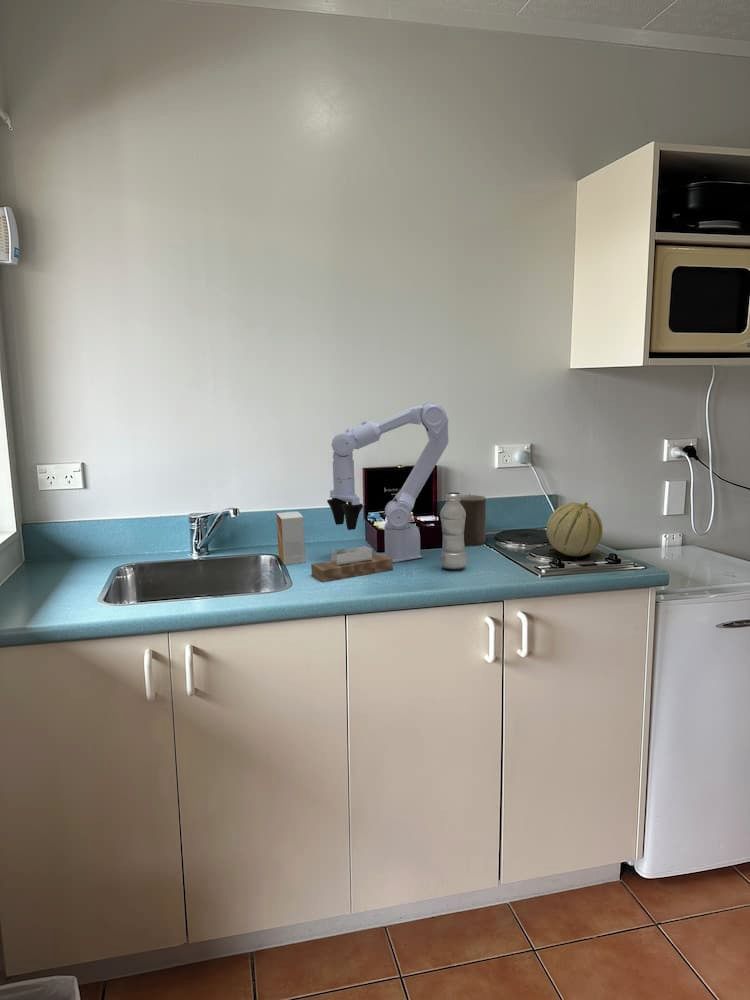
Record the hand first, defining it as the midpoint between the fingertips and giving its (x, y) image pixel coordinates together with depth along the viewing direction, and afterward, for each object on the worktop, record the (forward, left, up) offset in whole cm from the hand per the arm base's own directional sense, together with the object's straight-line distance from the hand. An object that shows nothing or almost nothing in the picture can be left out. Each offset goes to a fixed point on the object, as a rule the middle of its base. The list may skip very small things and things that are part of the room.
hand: (345, 526), depth 193 cm
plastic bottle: (-20, +23, -10) cm, 32 cm away
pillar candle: (-40, +2, -10) cm, 41 cm away
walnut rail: (+4, +12, -9) cm, 16 cm away
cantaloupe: (-55, +30, -10) cm, 63 cm away
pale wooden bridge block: (+4, +12, -9) cm, 16 cm away
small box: (+13, -8, -10) cm, 18 cm away
